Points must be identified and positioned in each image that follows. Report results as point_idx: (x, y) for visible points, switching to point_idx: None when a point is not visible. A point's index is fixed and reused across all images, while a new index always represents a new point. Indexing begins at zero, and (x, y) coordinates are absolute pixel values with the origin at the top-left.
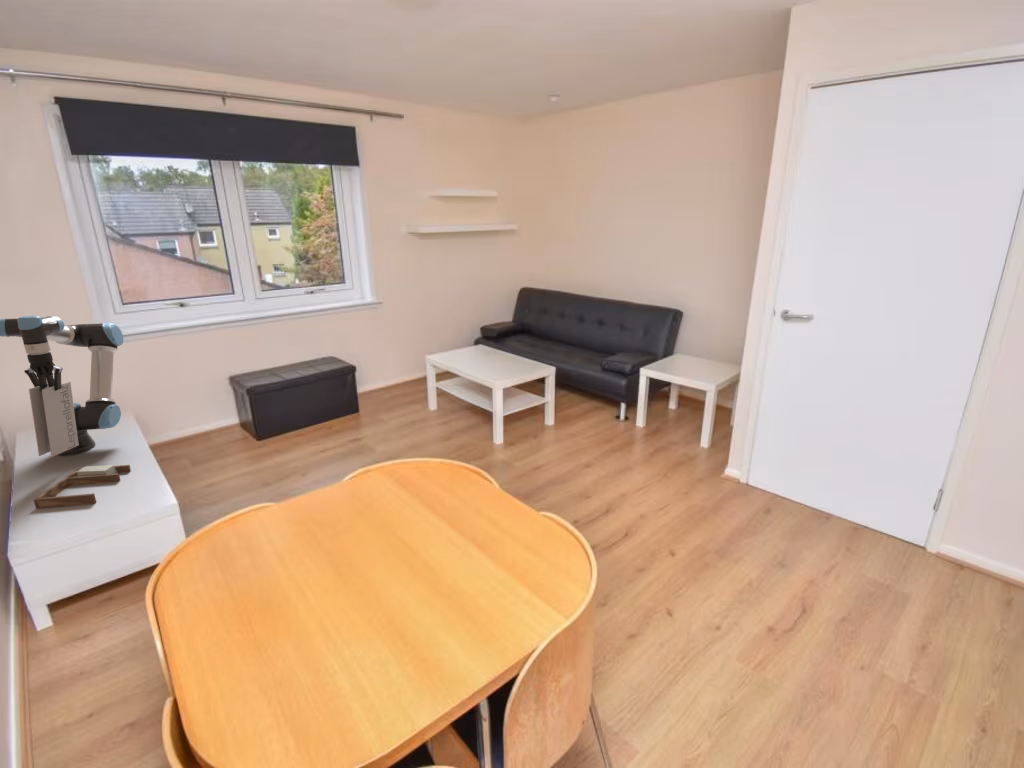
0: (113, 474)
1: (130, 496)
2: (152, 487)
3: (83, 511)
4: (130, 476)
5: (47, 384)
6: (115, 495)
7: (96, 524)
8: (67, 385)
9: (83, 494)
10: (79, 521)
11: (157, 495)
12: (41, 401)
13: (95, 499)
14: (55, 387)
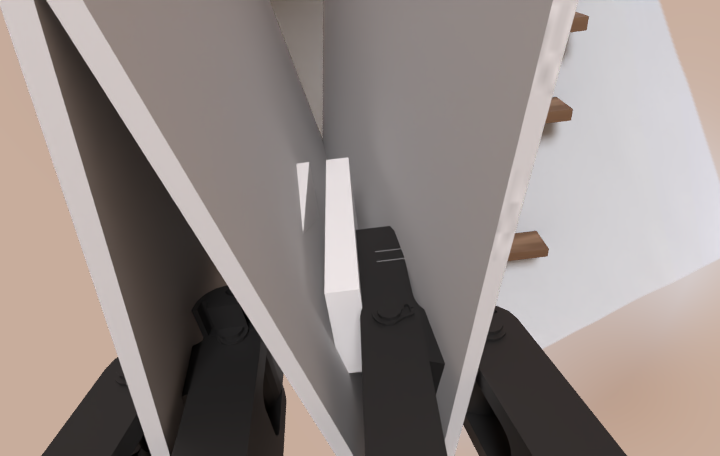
0: (555, 118)
1: (624, 204)
2: (680, 151)
3: (524, 271)
4: (577, 50)
5: (146, 347)
6: (576, 196)
7: (584, 320)
8: (510, 64)
9: (519, 253)
10: (538, 309)
11: (703, 203)
12: (224, 281)
13: (540, 237)
14: (488, 433)
